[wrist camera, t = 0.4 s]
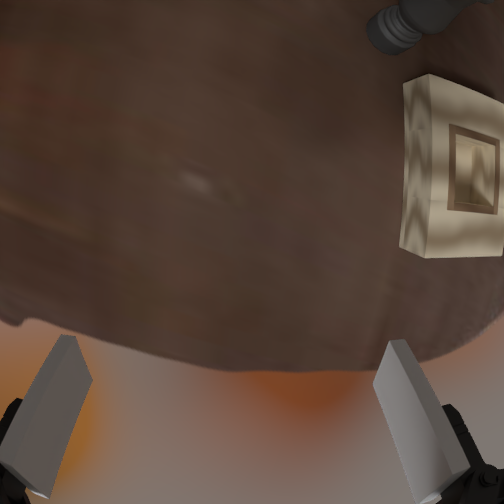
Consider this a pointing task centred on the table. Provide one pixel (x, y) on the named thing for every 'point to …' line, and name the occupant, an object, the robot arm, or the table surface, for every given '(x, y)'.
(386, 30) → the candle holder
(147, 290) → the table surface
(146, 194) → the table surface
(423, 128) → the socket block
